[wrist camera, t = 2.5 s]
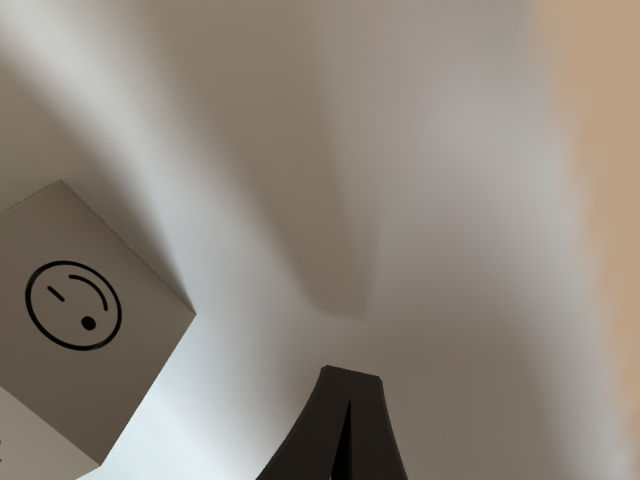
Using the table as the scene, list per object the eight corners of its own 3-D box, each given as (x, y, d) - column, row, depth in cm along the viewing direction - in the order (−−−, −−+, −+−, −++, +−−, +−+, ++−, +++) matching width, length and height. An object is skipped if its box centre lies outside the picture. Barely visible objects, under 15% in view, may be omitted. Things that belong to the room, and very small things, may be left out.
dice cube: (197, 312, 14) (101, 466, 9) (96, 379, 16) (-23, 531, 11) (61, 178, 12) (-127, 284, 8) (-31, 270, 14) (-221, 396, 10)
